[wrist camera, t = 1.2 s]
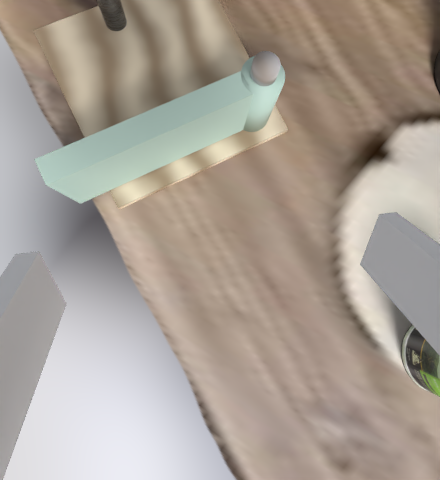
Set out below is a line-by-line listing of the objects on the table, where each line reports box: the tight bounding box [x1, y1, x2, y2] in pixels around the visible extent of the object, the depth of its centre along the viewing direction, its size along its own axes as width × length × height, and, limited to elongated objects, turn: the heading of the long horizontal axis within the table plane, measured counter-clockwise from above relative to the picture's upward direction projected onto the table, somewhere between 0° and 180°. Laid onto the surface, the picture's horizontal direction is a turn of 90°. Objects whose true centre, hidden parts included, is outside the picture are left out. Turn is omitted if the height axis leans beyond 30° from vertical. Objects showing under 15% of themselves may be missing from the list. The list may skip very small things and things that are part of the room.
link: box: [34, 56, 285, 203], centre depth 33 cm, size 28×5×8 cm, turn 117°
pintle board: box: [33, 0, 288, 209], centre depth 34 cm, size 26×28×11 cm
